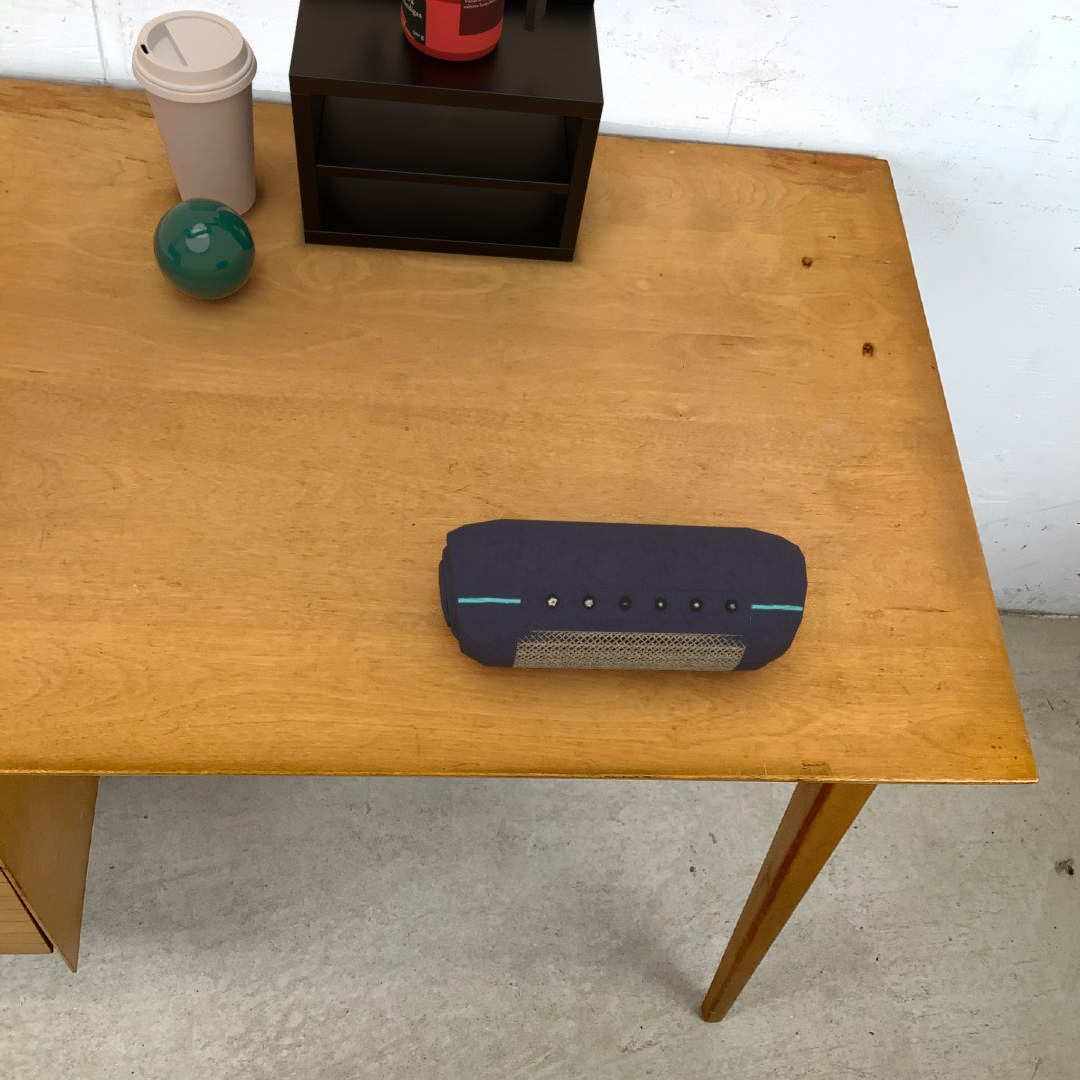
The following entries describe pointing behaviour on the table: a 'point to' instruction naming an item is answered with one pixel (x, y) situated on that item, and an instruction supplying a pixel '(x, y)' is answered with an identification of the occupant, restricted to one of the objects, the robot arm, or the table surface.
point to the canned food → (453, 27)
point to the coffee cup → (201, 103)
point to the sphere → (204, 248)
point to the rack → (445, 132)
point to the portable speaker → (621, 595)
